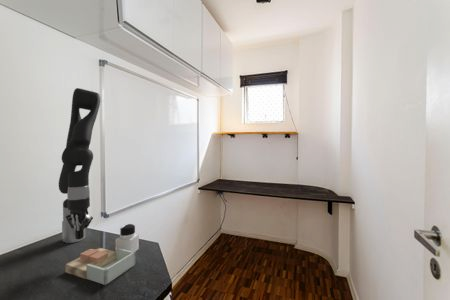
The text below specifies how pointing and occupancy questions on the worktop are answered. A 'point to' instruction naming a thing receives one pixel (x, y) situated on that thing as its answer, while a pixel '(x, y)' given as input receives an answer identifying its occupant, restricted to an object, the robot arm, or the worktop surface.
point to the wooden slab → (79, 265)
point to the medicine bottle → (128, 238)
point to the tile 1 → (87, 254)
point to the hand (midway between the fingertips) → (79, 238)
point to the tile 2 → (98, 257)
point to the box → (111, 267)
